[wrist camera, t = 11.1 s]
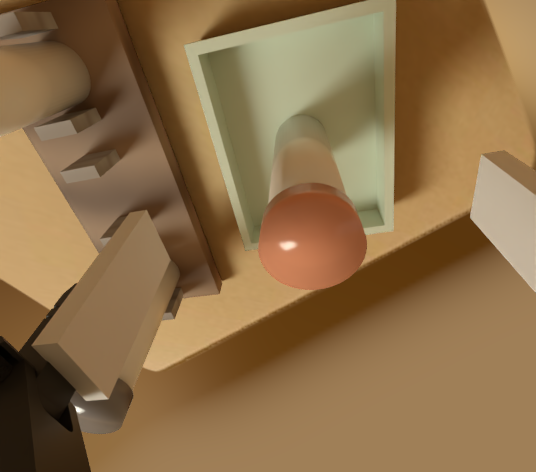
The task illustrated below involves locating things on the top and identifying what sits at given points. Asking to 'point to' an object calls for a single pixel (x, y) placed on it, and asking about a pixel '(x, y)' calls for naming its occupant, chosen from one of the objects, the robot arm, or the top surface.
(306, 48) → the tray
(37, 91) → the fuse
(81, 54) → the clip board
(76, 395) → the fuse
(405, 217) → the top surface
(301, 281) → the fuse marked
